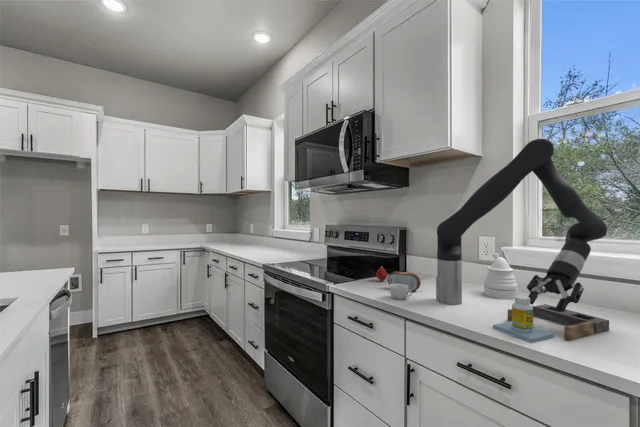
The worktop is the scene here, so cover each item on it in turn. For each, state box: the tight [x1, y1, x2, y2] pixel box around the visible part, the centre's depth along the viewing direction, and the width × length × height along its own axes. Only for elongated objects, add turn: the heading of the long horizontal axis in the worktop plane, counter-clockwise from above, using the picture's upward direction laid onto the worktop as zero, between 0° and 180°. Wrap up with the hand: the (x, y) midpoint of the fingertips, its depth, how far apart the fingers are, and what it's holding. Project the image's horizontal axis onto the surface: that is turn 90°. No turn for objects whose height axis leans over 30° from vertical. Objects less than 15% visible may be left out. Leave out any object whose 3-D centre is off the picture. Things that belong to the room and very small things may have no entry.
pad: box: [492, 321, 555, 344], centre depth 93 cm, size 10×12×1 cm
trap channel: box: [507, 303, 610, 342], centre depth 100 cm, size 20×18×4 cm
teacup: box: [389, 284, 413, 301], centre depth 131 cm, size 10×8×5 cm
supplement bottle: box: [511, 295, 534, 332], centre depth 94 cm, size 5×5×10 cm
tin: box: [387, 270, 422, 292], centre depth 145 cm, size 15×3×8 cm, turn 58°
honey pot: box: [483, 252, 519, 300], centre depth 136 cm, size 13×13×18 cm
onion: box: [375, 266, 388, 282], centre depth 164 cm, size 6×6×8 cm
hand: (543, 306), depth 97 cm, fingers open, 8 cm apart
